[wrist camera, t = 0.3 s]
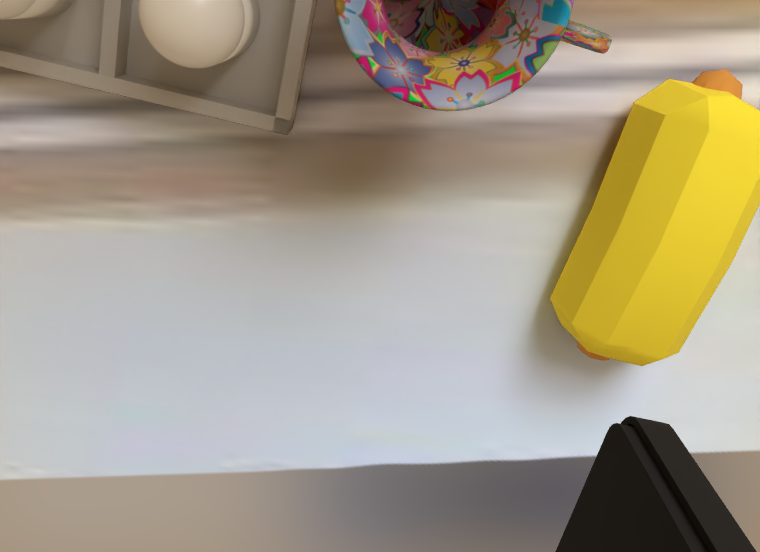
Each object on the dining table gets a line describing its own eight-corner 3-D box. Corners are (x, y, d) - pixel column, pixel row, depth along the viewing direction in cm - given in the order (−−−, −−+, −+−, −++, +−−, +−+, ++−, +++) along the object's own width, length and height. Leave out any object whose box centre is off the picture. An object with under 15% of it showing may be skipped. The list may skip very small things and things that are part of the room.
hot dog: (526, 328, 43) (636, 358, 44) (551, 383, 37) (678, 416, 38) (646, 45, 37) (773, 86, 37) (700, 55, 30) (850, 104, 31)
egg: (174, -49, 34) (128, -59, 28) (267, -25, 35) (242, -30, 28) (163, 48, 36) (117, 58, 30) (252, 69, 36) (225, 85, 30)
